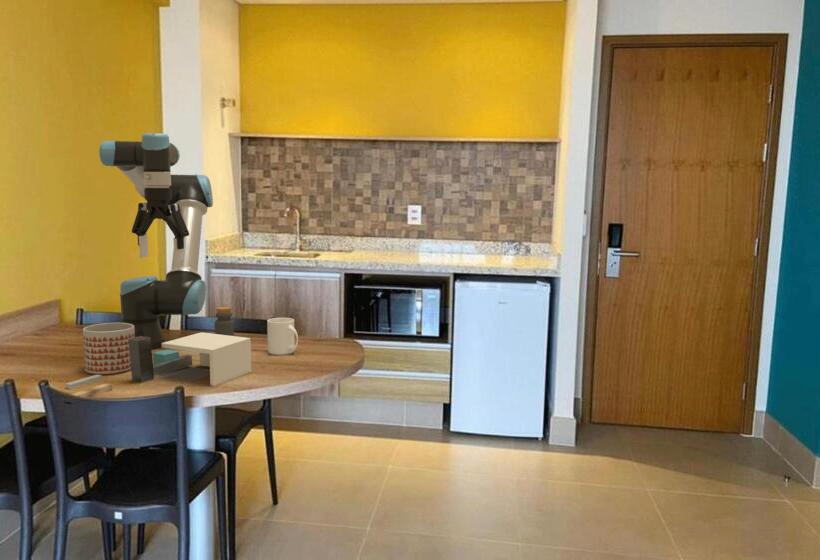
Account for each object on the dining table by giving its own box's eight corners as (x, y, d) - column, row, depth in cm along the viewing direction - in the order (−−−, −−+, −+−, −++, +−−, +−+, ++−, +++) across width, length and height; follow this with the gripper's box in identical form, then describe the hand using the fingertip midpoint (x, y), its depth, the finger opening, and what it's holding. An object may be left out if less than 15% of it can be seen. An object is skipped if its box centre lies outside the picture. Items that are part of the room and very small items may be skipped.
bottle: (238, 352, 215) (236, 307, 213) (226, 356, 210) (224, 309, 208) (223, 350, 218) (222, 305, 216) (211, 354, 213) (210, 308, 211)
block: (153, 369, 192) (153, 352, 192) (167, 365, 196) (167, 349, 196) (165, 372, 190) (164, 355, 189) (179, 368, 194) (178, 351, 193)
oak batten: (72, 405, 162) (72, 397, 162) (65, 403, 163) (65, 396, 163) (112, 391, 173) (111, 384, 173) (105, 390, 174) (104, 383, 174)
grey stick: (65, 389, 175) (65, 383, 175) (96, 380, 184) (96, 374, 184) (70, 390, 174) (70, 384, 174) (102, 381, 183) (101, 375, 183)
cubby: (162, 378, 184) (161, 343, 183) (202, 365, 199) (201, 332, 197) (214, 387, 177) (212, 349, 176) (251, 372, 192) (250, 338, 190)
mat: (133, 372, 190) (133, 371, 190) (162, 364, 200) (162, 362, 200) (193, 382, 181) (193, 381, 181) (220, 372, 191) (220, 371, 191)
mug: (288, 358, 208) (287, 325, 207) (262, 352, 215) (261, 320, 214) (307, 353, 215) (307, 320, 214) (281, 347, 222) (281, 316, 221)
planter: (103, 378, 184) (101, 333, 183) (75, 371, 192) (72, 328, 190) (146, 367, 196) (144, 325, 194) (117, 361, 203) (115, 320, 201)
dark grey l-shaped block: (132, 381, 182) (128, 339, 179) (185, 363, 197) (182, 324, 194) (141, 383, 180) (137, 341, 177) (194, 365, 195) (191, 326, 192)
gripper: (116, 186, 196) (120, 257, 199) (181, 188, 186) (184, 262, 189) (136, 185, 202) (140, 254, 206) (199, 187, 192) (202, 259, 196)
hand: (161, 258), depth 197 cm, fingers open, 13 cm apart
